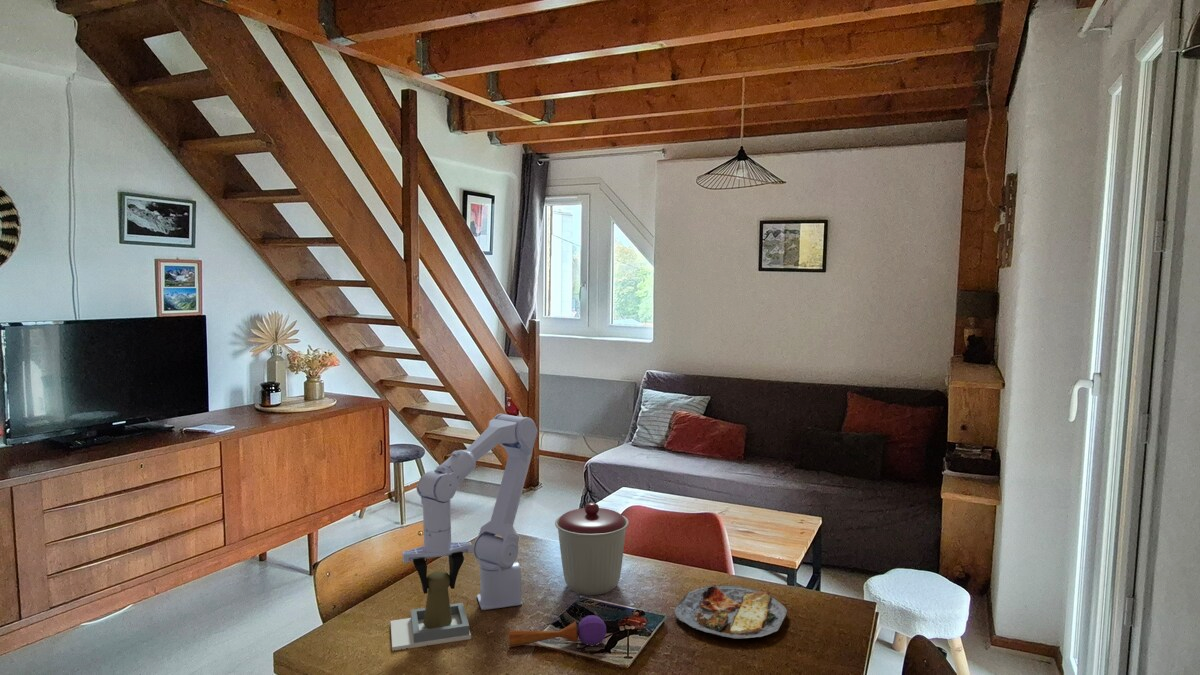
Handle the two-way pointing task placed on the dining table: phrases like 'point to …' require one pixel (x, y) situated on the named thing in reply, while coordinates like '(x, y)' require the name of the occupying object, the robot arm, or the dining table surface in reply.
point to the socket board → (429, 629)
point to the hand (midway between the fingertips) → (438, 589)
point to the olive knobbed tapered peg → (437, 600)
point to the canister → (591, 548)
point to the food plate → (718, 602)
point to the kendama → (564, 633)
